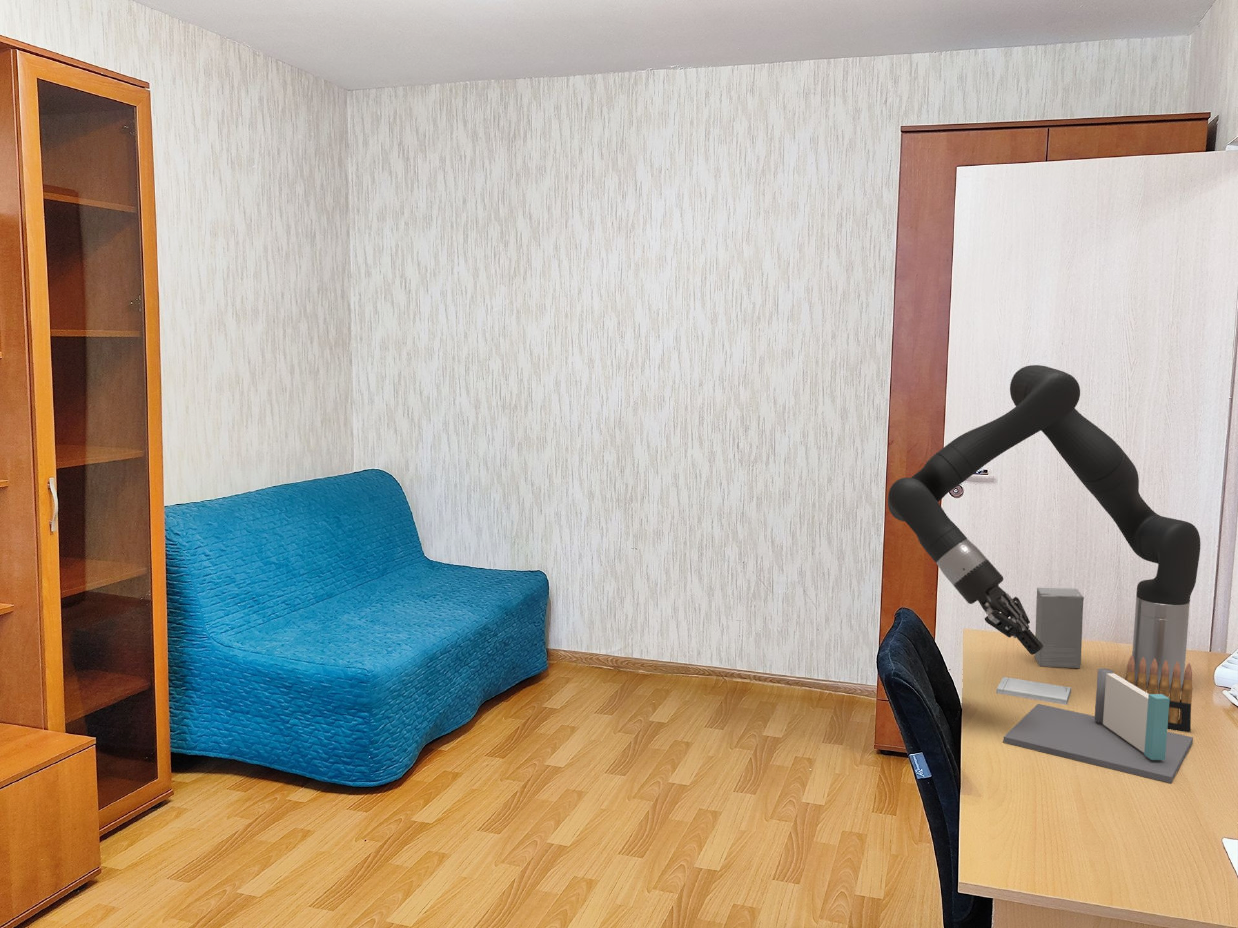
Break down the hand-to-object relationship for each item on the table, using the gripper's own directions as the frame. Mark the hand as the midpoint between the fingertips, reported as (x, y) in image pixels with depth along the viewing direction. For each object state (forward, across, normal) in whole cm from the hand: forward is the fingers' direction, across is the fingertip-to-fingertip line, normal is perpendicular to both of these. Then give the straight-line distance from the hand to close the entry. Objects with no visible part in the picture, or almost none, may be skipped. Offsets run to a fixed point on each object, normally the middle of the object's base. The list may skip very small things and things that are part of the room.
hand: (1038, 650), depth 171 cm
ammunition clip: (+22, +17, -1) cm, 27 cm away
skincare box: (+6, +42, +16) cm, 45 cm away
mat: (+17, +2, +3) cm, 18 cm away
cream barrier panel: (+19, +3, -1) cm, 19 cm away
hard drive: (+7, +20, +15) cm, 26 cm away
